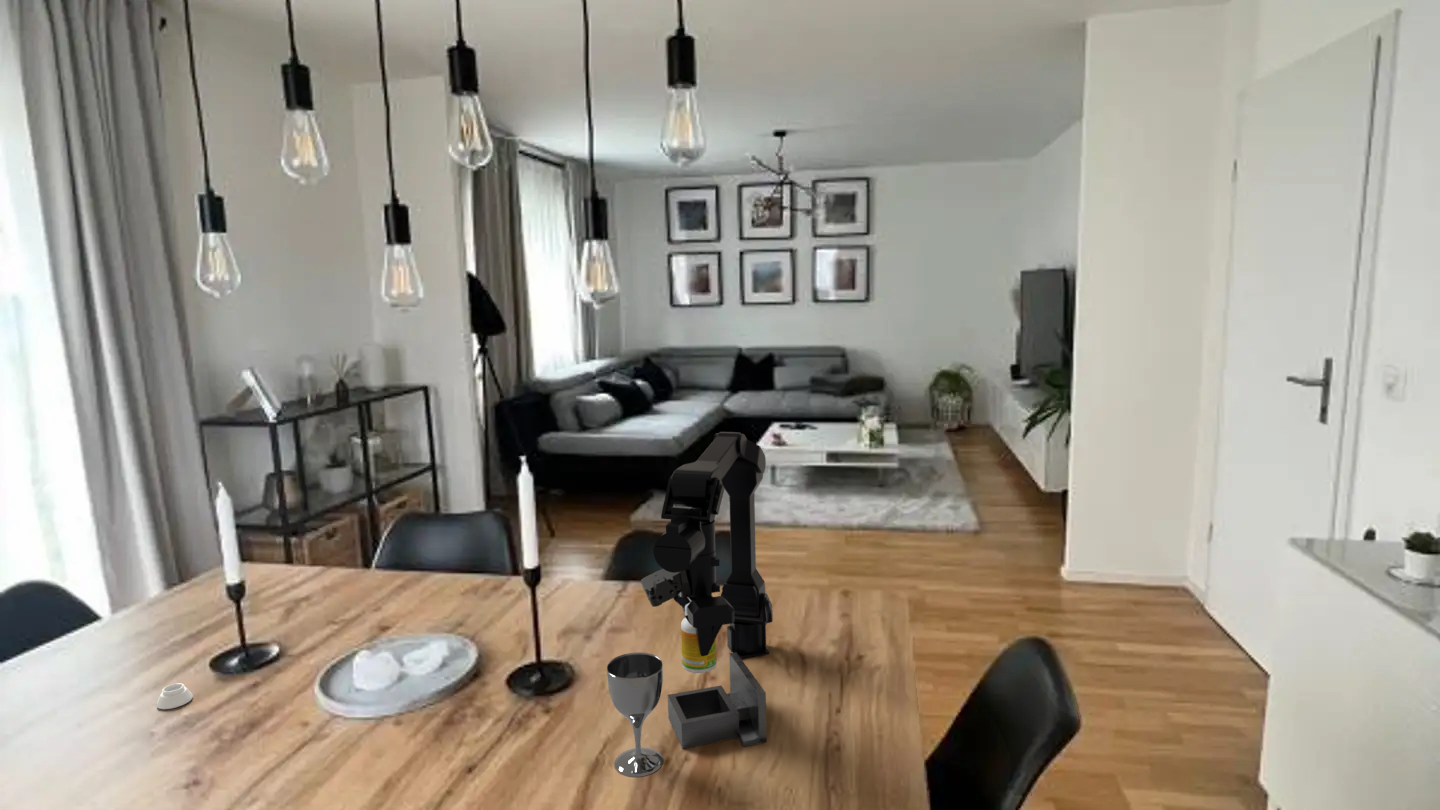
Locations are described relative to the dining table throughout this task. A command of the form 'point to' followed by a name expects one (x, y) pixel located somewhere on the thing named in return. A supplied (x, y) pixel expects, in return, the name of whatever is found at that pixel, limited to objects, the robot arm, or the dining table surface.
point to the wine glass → (636, 706)
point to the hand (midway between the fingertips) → (699, 647)
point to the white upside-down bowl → (174, 696)
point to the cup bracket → (721, 711)
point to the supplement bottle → (695, 650)
